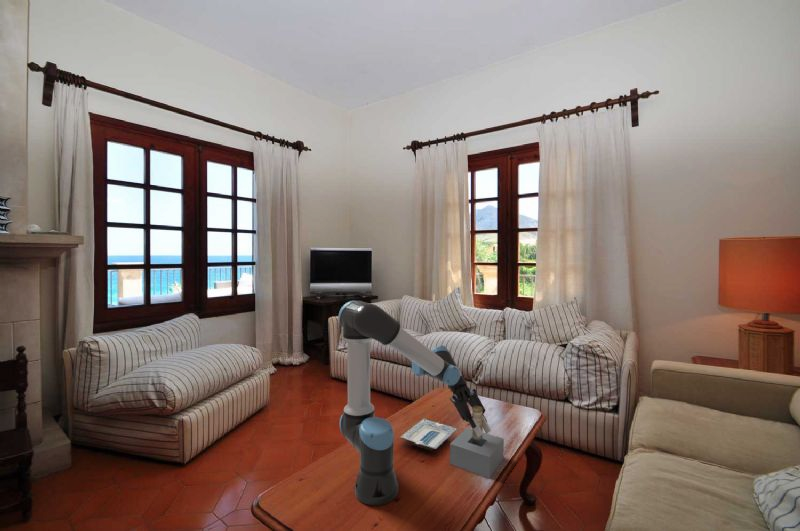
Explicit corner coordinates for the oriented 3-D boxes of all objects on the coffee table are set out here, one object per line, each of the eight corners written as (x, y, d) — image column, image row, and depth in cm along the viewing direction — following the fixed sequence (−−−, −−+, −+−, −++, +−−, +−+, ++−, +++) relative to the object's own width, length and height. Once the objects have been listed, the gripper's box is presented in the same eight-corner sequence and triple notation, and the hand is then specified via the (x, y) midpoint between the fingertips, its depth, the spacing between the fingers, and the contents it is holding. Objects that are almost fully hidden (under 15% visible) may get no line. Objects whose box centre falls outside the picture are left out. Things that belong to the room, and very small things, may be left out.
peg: (480, 441, 136) (480, 411, 136) (470, 438, 138) (470, 408, 138) (484, 437, 139) (484, 407, 139) (474, 434, 142) (474, 405, 141)
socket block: (489, 478, 128) (489, 456, 128) (450, 464, 137) (450, 443, 137) (503, 458, 141) (503, 438, 141) (466, 446, 150) (466, 427, 150)
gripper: (464, 380, 156) (493, 431, 143) (435, 388, 146) (464, 444, 133) (473, 371, 152) (504, 423, 138) (444, 379, 142) (474, 436, 129)
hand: (484, 433), depth 136 cm, fingers closed on peg, 4 cm apart
